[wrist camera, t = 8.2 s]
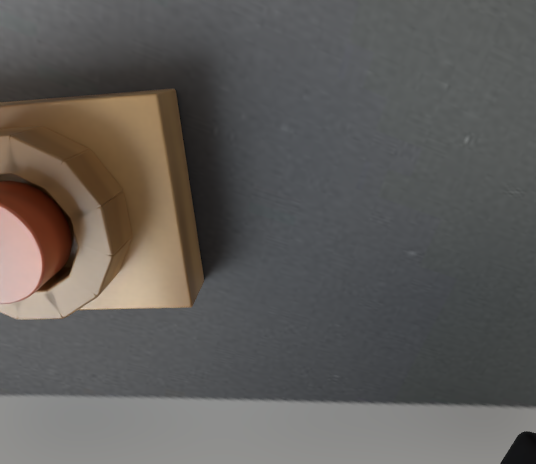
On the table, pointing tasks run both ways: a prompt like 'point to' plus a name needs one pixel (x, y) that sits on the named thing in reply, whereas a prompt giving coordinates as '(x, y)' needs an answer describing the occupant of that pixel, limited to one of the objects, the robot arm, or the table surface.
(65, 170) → the button block
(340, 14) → the table surface
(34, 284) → the button
